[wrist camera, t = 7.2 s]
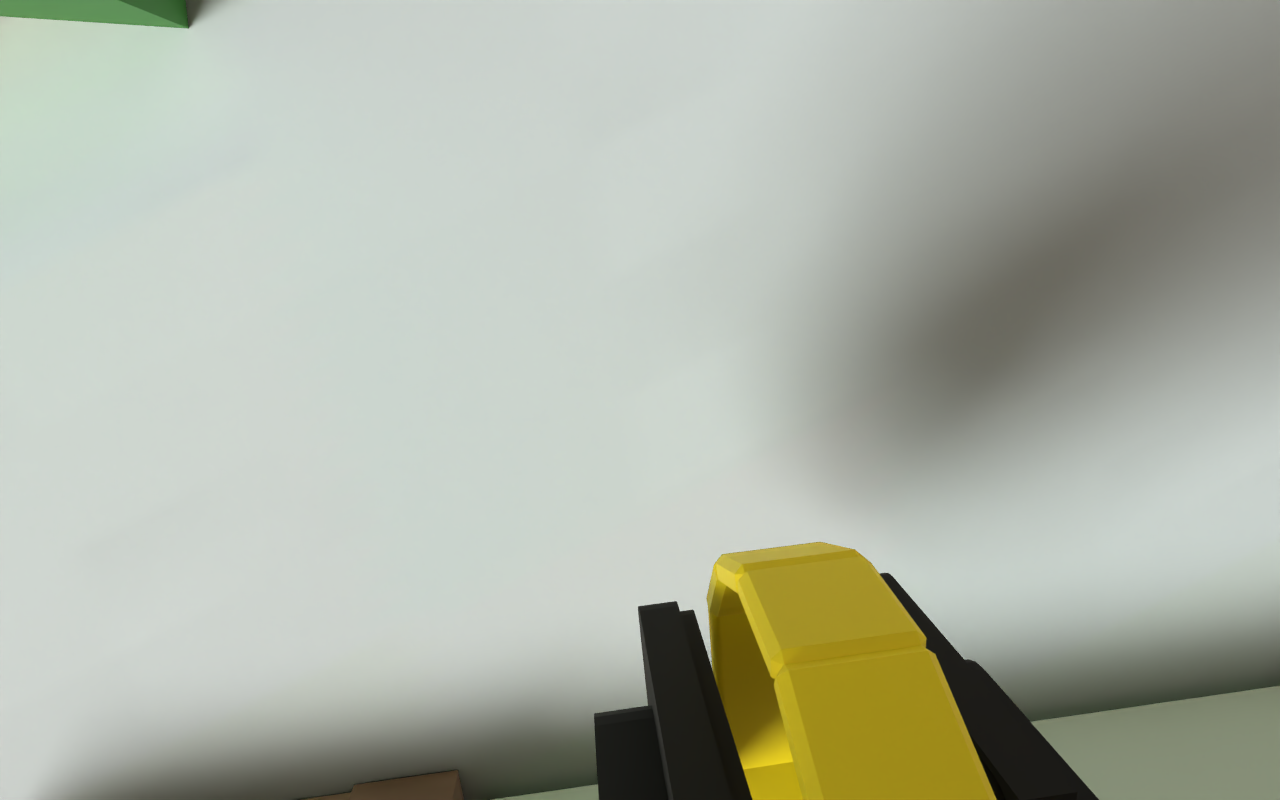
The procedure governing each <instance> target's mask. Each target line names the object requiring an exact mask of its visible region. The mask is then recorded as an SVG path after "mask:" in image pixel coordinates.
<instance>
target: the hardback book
mask: <svg viewBox="0 0 1280 800" xmlns="http://www.w3.org/2000/svg"><path fill="white" fill-rule="evenodd" d="M0 16H6V17H21V18H37V19H52V20H68V21H83V22H99V23H114V24H129V25H145V26H160V27H176V28H189V27H188V18H187V10H186V1H185V0H0Z"/></svg>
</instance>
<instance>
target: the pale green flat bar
mask: <svg viewBox="0 0 1280 800" xmlns="http://www.w3.org/2000/svg"><path fill="white" fill-rule="evenodd" d="M1031 723H1032V724H1033V725H1034V727H1035V728H1036V729H1037V730H1038V731H1039V732H1040V733H1041V734H1042V736H1043V737H1044V738H1045V739H1046V740H1047V741H1048V742H1049V743H1050V745H1051V746H1052V747H1053V748H1054V749H1055V750H1056V751H1057V753H1058V754H1059V755H1060V756H1061V757H1062V758H1063V759H1064V760H1065V762H1066V763H1067V764H1068V765H1069V766H1070V767H1071V768H1072V770H1073V771H1074V772H1075V773H1076V774H1077V775H1078V776H1079V777H1080V779H1081V780H1082V781H1083V782H1084V783H1085V784H1086V785H1087V786H1088V788H1089V789H1090V790H1091V791H1092V792H1093V793H1094V794H1095V796H1096V797H1097V798H1098V799H1099V800H1280V686H1274V687H1267V688H1261V689H1254V690H1247V691H1240V692H1233V693H1226V694H1219V695H1212V696H1205V697H1198V698H1191V699H1184V700H1177V701H1171V702H1164V703H1157V704H1150V705H1143V706H1136V707H1129V708H1122V709H1115V710H1108V711H1101V712H1094V713H1087V714H1081V715H1074V716H1067V717H1060V718H1053V719H1046V720H1039V721H1032V722H1031ZM492 800H599V794H598V784H596V785H589V786H582V787H575V788H568V789H562V790H555V791H548V792H541V793H534V794H527V795H520V796H513V797H506V798H499V799H492Z"/></svg>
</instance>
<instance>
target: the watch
mask: <svg viewBox="0 0 1280 800" xmlns="http://www.w3.org/2000/svg"><path fill="white" fill-rule="evenodd" d="M707 603H708V613H709V628H710V642H711V656H712V670H713V674H714V677H715V680H716V684H717V687H718V690H719V693H720V697H721V700H722V703H723V706H724V709H725V713H726V716H727V719H728V722H729V725H730V729H731V732H732V735H733V738H734V742H735V745H736V748H737V751H738V754H739V758H740V761H741V764H742V767H743V770H744V774H745V777H746V780H747V783H748V787H749V790H750V793H751V796H752V799H753V800H997V799H996V797H995V795H994V792H993V790H992V787H991V785H990V783H989V780H988V778H987V776H986V773H985V771H984V768H983V766H982V764H981V761H980V759H979V757H978V754H977V752H976V749H975V747H974V745H973V742H972V740H971V738H970V735H969V733H968V730H967V728H966V726H965V723H964V721H963V719H962V716H961V714H960V711H959V709H958V707H957V704H956V702H955V700H954V697H953V695H952V692H951V690H950V688H949V685H948V683H947V681H946V678H945V676H944V673H943V671H942V669H941V666H940V664H939V662H938V659H937V657H936V654H935V653H933V652H931V651H930V650H928V649H926V636H925V635H924V634H923V632H922V631H921V630H920V628H919V627H918V626H917V624H916V623H915V622H914V620H913V619H912V618H911V616H910V615H909V613H908V612H907V611H906V609H905V608H904V607H903V605H902V604H901V603H900V601H899V600H898V599H897V597H896V596H895V595H894V593H893V592H892V590H891V589H890V588H889V586H888V585H887V584H886V582H885V581H884V580H883V578H882V577H881V576H880V574H879V573H878V572H877V570H876V569H875V567H874V566H873V565H872V563H871V562H869V561H868V560H867V559H866V558H865V557H863V556H862V555H861V554H860V553H858V552H857V551H856V550H855V549H850V548H845V547H841V546H836V545H832V544H827V543H823V542H815V543H807V544H799V545H791V546H783V547H776V548H768V549H760V550H752V551H744V552H737V553H729V554H722V555H721V557H720V558H719V559H718V560H717V562H716V563H715V564H714V567H713V572H712V576H711V581H710V585H709V590H708V594H707Z"/></svg>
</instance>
